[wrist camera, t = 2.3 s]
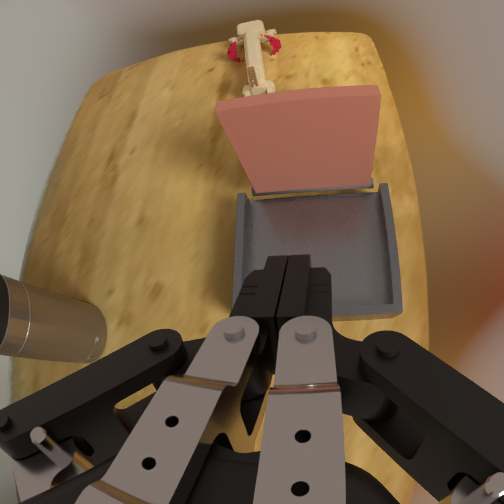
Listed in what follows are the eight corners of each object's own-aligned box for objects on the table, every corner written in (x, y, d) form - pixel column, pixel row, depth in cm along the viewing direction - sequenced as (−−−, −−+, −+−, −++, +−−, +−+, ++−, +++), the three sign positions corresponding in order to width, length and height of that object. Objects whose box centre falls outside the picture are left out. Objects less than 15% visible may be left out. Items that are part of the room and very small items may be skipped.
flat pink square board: (372, 190, 34) (387, 95, 20) (254, 198, 37) (208, 113, 23) (370, 176, 34) (381, 79, 20) (254, 184, 37) (211, 97, 24)
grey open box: (393, 317, 32) (402, 312, 27) (244, 322, 36) (231, 317, 31) (381, 203, 36) (387, 183, 31) (248, 211, 40) (237, 193, 36)
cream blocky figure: (294, 108, 46) (276, 26, 52) (286, 70, 38) (267, -6, 44) (234, 119, 48) (230, 35, 54) (217, 85, 40) (217, 6, 46)
